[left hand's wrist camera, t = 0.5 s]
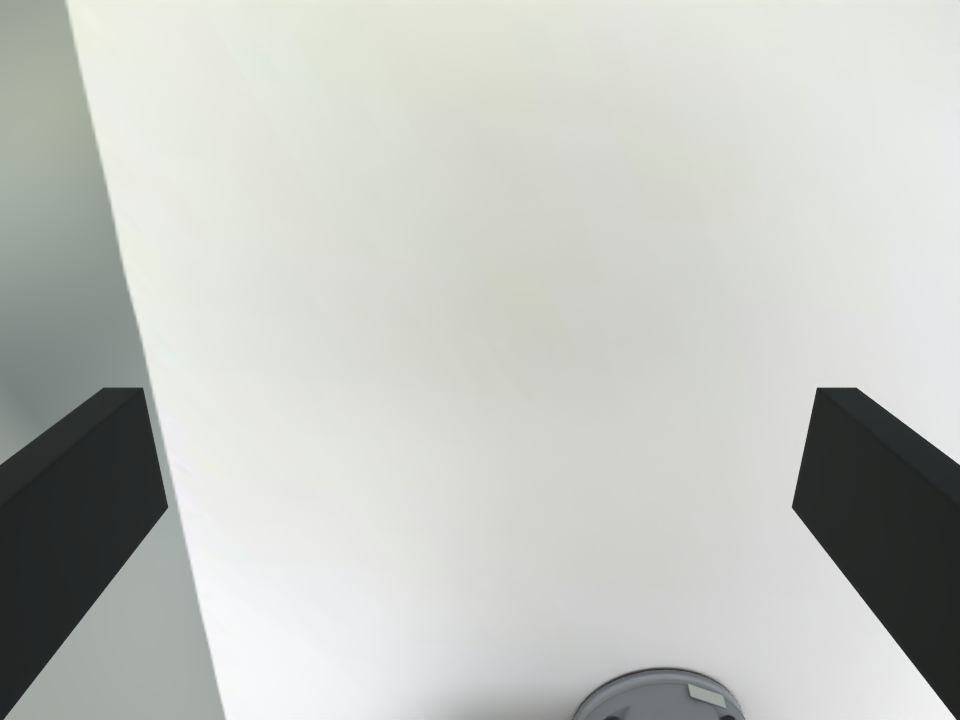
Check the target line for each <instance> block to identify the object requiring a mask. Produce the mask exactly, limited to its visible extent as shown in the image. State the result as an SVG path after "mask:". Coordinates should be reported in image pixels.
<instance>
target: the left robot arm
mask: <svg viewBox="0 0 960 720" xmlns="http://www.w3.org/2000/svg"><path fill="white" fill-rule="evenodd" d="M167 508H168V504H167V500H166V495H165V490H164V485H163V481H162V476H161V471H160V466H159V462H158V457H157V452H156V447H155V443H154V438H153V433H152V429H151V424H150V419H149V414H148V409H147V405H146V400H145V395H144V390H143V388H103V389H101V390H100V391H99V392H97V393H96V394H95V395H93V396H92V397H91V398H89V399H88V400H87V401H85V402H84V403H83V404H81V405H80V406H79V407H77V408H76V409H74V410H73V411H72V412H71V413H69V414H68V415H66V416H65V417H64V418H63V419H61V420H60V421H59V422H57V423H56V424H55V425H53V426H52V427H50V428H49V429H48V430H46V431H45V432H44V433H42V434H41V435H40V436H38V437H37V438H36V439H35V440H33V441H32V442H30V443H29V444H28V445H27V446H25V447H24V448H22V449H21V450H20V451H19V452H17V453H16V454H15V455H13V456H12V457H10V458H9V459H8V460H6V461H5V462H4V463H2V464H1V465H0V720H4V718H5V717H6V716H7V714H8V713H9V712H10V711H11V709H12V708H13V707H14V705H15V704H16V703H17V702H18V700H19V699H20V698H21V696H22V695H23V694H24V692H25V691H26V690H27V689H28V687H29V686H30V685H31V684H32V682H33V681H34V680H35V678H36V677H37V676H38V674H39V673H40V672H41V671H42V669H43V668H44V667H45V665H46V664H47V663H48V662H49V660H50V659H51V658H52V656H53V655H54V654H55V653H56V651H57V650H58V649H59V647H60V646H61V645H62V644H63V642H64V641H65V640H66V638H67V637H68V636H69V634H70V633H71V632H72V631H73V629H74V628H75V627H76V626H77V624H78V623H79V622H80V620H81V619H82V618H83V617H84V615H85V614H86V613H87V611H88V610H89V609H90V607H91V606H92V605H93V604H94V602H95V601H96V600H97V599H98V597H99V596H100V595H101V593H102V592H103V591H104V589H105V588H106V587H107V586H108V584H109V583H110V582H111V580H112V579H113V578H114V577H115V575H116V574H117V573H118V571H119V570H120V569H121V568H122V566H123V565H124V564H125V562H126V561H127V560H128V559H129V557H130V556H131V555H132V553H133V552H134V551H135V550H136V548H137V547H138V546H139V544H140V543H141V542H142V540H143V539H144V538H145V537H146V535H147V534H148V533H149V531H150V530H151V529H152V528H153V526H154V525H155V524H156V522H157V521H158V520H159V519H160V517H161V516H162V515H163V513H164V512H165V511H166V510H167ZM792 508H793V510H794V511H795V512H796V513H797V515H798V516H799V517H800V519H801V520H802V521H803V522H804V524H805V525H806V526H807V528H808V529H809V530H810V532H811V533H812V534H813V535H814V537H815V538H816V539H817V541H818V542H819V543H820V544H821V546H822V547H823V548H824V550H825V551H826V552H827V553H828V555H829V556H830V557H831V559H832V560H833V561H834V562H835V564H836V565H837V566H838V568H839V569H840V570H841V571H842V573H843V574H844V575H845V577H846V578H847V579H848V580H849V582H850V583H851V584H852V586H853V587H854V588H855V589H856V591H857V592H858V593H859V595H860V596H861V597H862V599H863V600H864V601H865V602H866V604H867V605H868V606H869V608H870V609H871V610H872V611H873V613H874V614H875V615H876V617H877V618H878V619H879V620H880V622H881V623H882V624H883V626H884V627H885V628H886V629H887V631H888V632H889V633H890V635H891V636H892V637H893V638H894V640H895V641H896V642H897V644H898V645H899V646H900V647H901V649H902V650H903V651H904V653H905V654H906V655H907V656H908V658H909V659H910V660H911V662H912V663H913V664H914V665H915V667H916V668H917V669H918V671H919V672H920V673H921V675H922V676H923V677H924V678H925V680H926V681H927V682H928V684H929V685H930V686H931V687H932V689H933V690H934V691H935V693H936V694H937V695H938V696H939V698H940V699H941V700H942V702H943V703H944V704H945V705H946V707H947V708H948V709H949V711H950V712H951V713H952V714H953V716H954V717H955V718H956V720H960V465H959V464H958V463H956V462H955V461H954V460H952V459H951V458H950V457H948V456H947V455H946V454H944V453H943V452H942V451H940V450H939V449H938V448H936V447H935V446H934V445H932V444H931V443H930V442H928V441H927V440H926V439H924V438H923V437H922V436H920V435H919V434H918V433H916V432H915V431H914V430H912V429H911V428H910V427H908V426H907V425H906V424H904V423H903V422H902V421H900V420H899V419H898V418H896V417H895V416H894V415H892V414H891V413H890V412H888V411H887V410H886V409H884V408H883V407H881V406H880V405H879V404H877V403H876V402H875V401H873V400H872V399H871V398H869V397H868V396H867V395H865V394H864V393H863V392H861V391H860V390H859V389H857V388H817V390H816V395H815V400H814V405H813V409H812V414H811V419H810V424H809V428H808V433H807V438H806V443H805V447H804V452H803V457H802V462H801V466H800V471H799V476H798V481H797V485H796V490H795V495H794V500H793V504H792ZM573 720H745V718H744V716H743V714H742V711H741V709H740V707H739V705H738V703H737V701H736V700H735V698H734V697H733V696H732V695H731V693H730V692H728V691H727V690H726V689H725V688H724V687H722V686H721V685H720V684H718V683H716V682H715V681H713V680H711V679H709V678H707V677H704V676H701V675H698V674H695V673H691V672H686V671H678V670H652V671H645V672H640V673H635V674H631V675H628V676H625V677H622V678H620V679H617V680H615V681H613V682H611V683H609V684H607V685H605V686H604V687H602V688H600V689H599V690H597V691H596V692H595V693H593V694H592V695H591V696H590V697H589V698H588V699H587V700H586V701H585V702H584V703H583V704H582V705H581V707H580V708H579V710H578V711H577V713H576V714H575V716H574V719H573Z"/></svg>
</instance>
